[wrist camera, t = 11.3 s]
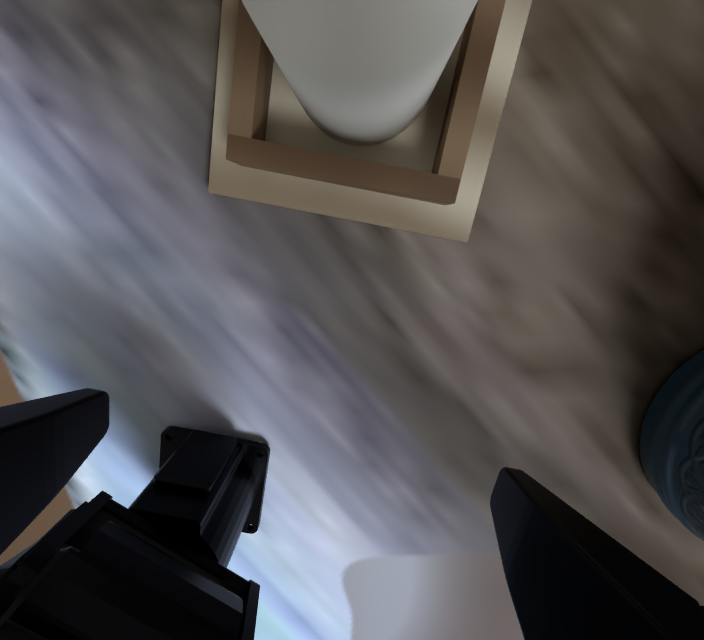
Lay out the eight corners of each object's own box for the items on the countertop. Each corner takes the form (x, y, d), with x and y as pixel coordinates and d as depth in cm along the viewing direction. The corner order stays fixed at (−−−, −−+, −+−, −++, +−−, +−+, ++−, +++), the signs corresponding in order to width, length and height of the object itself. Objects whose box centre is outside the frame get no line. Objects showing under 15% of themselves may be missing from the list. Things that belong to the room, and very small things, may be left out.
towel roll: (417, 158, 17) (459, 104, 9) (283, 131, 17) (210, 54, 9) (453, -4, 15) (542, -240, 7) (303, -34, 15) (235, -304, 7)
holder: (464, 241, 18) (479, 245, 16) (213, 193, 18) (188, 188, 16) (547, -74, 15) (584, -133, 12) (238, -135, 15) (212, -208, 12)
